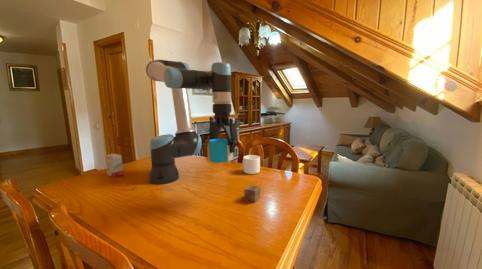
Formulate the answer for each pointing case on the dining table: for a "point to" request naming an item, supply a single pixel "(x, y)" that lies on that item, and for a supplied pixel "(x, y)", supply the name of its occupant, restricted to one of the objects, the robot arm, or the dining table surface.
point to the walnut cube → (252, 193)
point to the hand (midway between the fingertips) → (223, 158)
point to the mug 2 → (251, 164)
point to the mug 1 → (218, 150)
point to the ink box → (114, 165)
